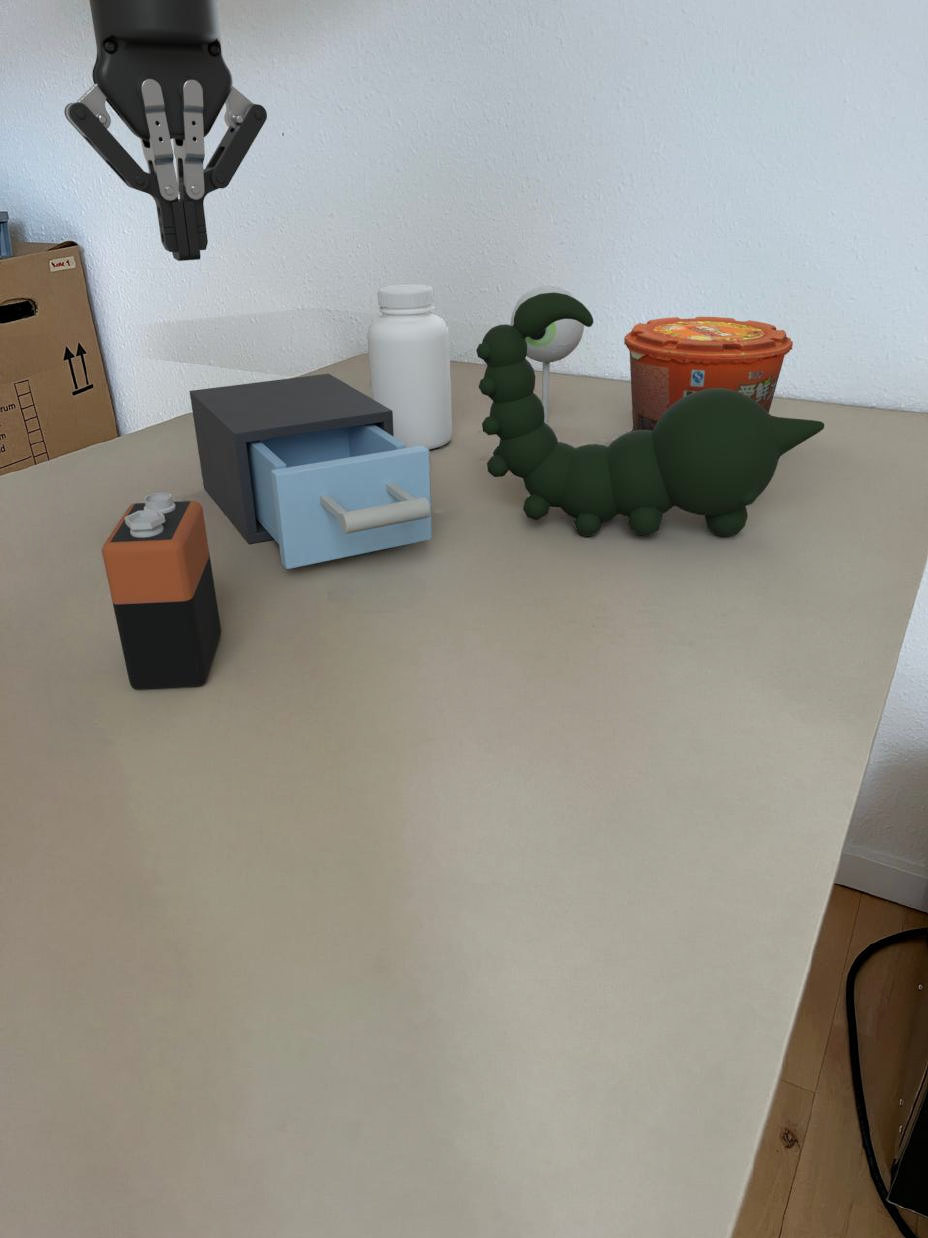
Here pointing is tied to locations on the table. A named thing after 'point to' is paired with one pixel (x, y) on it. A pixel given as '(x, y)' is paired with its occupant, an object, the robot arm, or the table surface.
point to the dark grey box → (268, 431)
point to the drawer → (340, 493)
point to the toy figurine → (629, 443)
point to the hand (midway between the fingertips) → (187, 258)
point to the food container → (701, 362)
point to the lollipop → (551, 340)
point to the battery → (163, 593)
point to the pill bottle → (411, 365)
